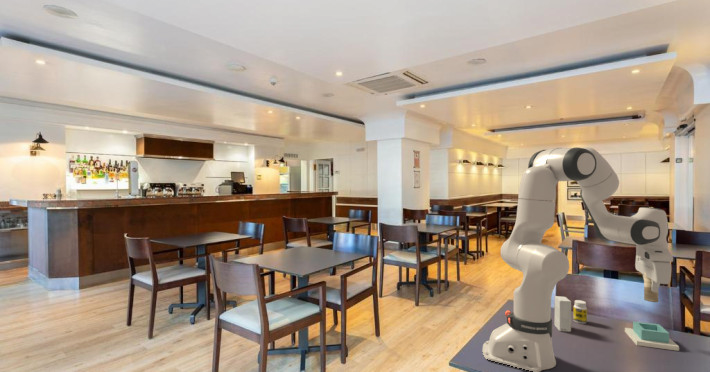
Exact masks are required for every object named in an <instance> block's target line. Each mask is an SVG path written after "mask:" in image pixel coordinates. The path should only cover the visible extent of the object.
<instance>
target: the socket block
mask: <svg viewBox="0 0 710 372" xmlns="http://www.w3.org/2000/svg"><path fill="white" fill-rule="evenodd" d="M624 333H626V335H627V336H628V338H630V339H631V341H632V342H633V343H634V344H635V345H636V346H639V347H645V348H656V349H662V350H669V351H677V352H679V351H680V346H679V345H678V344H677V343H676V342H675V341H673V339H672V338H670V332H669V331H667V329H665V328H664V327H663V326H662V325H661V324H658V323H650V322H642V321H632V328H631V327H624Z"/></svg>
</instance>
